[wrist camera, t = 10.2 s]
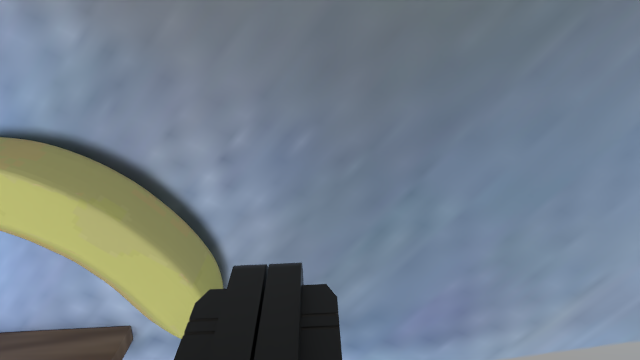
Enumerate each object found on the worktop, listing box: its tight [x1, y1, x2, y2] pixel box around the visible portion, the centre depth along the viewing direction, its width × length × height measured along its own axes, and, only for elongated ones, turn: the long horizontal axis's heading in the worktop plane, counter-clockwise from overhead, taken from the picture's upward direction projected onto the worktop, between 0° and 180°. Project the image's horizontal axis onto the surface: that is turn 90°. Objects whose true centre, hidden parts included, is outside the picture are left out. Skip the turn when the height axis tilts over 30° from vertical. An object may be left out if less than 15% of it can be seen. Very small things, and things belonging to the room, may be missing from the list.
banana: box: [0, 137, 223, 339], centre depth 31 cm, size 14×6×20 cm
